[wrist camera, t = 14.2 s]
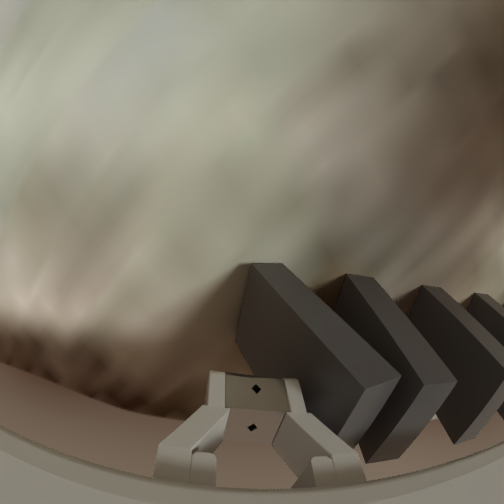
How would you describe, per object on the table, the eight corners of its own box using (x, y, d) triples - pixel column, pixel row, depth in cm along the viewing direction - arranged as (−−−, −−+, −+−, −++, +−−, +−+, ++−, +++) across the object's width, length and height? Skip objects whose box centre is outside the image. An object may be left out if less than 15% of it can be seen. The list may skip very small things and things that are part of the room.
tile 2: (321, 344, 17) (365, 463, 9) (346, 273, 15) (424, 384, 8) (346, 345, 17) (398, 458, 9) (373, 277, 15) (457, 381, 8)
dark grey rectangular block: (235, 341, 16) (313, 470, 9) (251, 263, 14) (365, 389, 7) (263, 338, 16) (347, 456, 10) (282, 263, 15) (401, 375, 8)
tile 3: (393, 347, 17) (453, 444, 10) (422, 285, 16) (508, 373, 8) (413, 348, 17) (474, 438, 10) (441, 287, 16) (525, 369, 8)
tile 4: (447, 348, 18) (507, 425, 10) (474, 292, 16) (552, 363, 9) (461, 347, 18) (520, 420, 11) (488, 294, 17) (561, 360, 9)
